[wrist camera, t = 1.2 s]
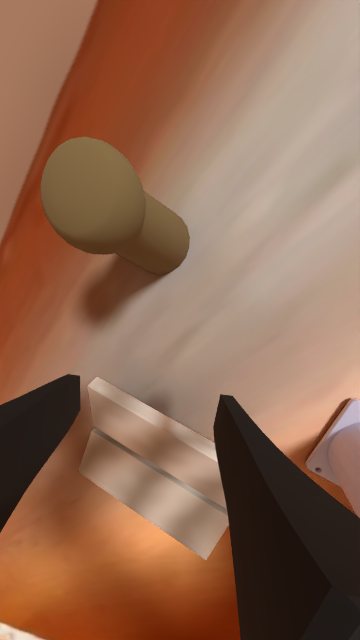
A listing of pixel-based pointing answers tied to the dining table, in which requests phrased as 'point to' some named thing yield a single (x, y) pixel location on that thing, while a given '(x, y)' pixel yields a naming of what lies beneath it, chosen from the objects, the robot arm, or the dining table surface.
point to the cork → (109, 207)
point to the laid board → (154, 493)
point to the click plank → (157, 438)
